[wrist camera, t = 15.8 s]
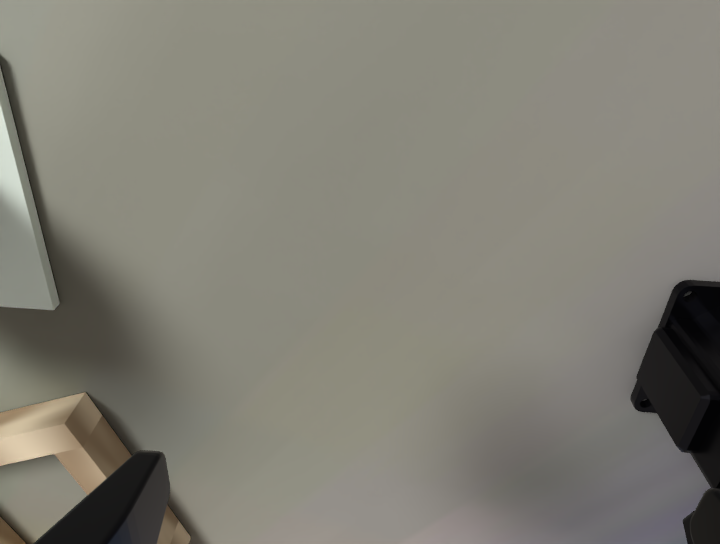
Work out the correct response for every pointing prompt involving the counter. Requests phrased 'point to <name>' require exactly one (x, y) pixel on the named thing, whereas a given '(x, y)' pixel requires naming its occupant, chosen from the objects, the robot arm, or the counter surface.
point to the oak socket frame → (70, 450)
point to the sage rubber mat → (20, 227)
